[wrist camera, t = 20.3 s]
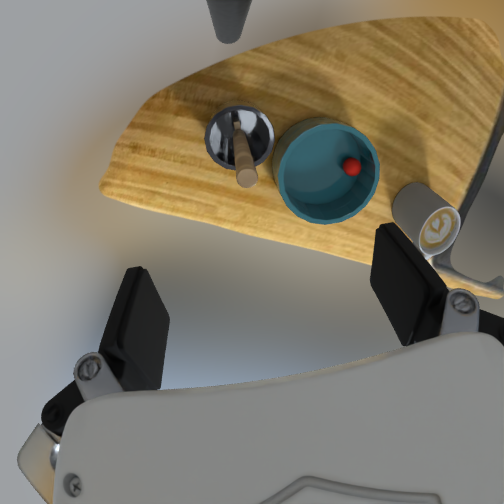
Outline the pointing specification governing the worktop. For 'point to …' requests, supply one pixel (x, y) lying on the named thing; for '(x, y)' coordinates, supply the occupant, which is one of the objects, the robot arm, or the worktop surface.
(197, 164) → the worktop surface
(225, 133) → the crock
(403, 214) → the coffee mug
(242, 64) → the worktop surface
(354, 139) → the bowl
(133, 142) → the worktop surface
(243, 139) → the paddle
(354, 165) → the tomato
